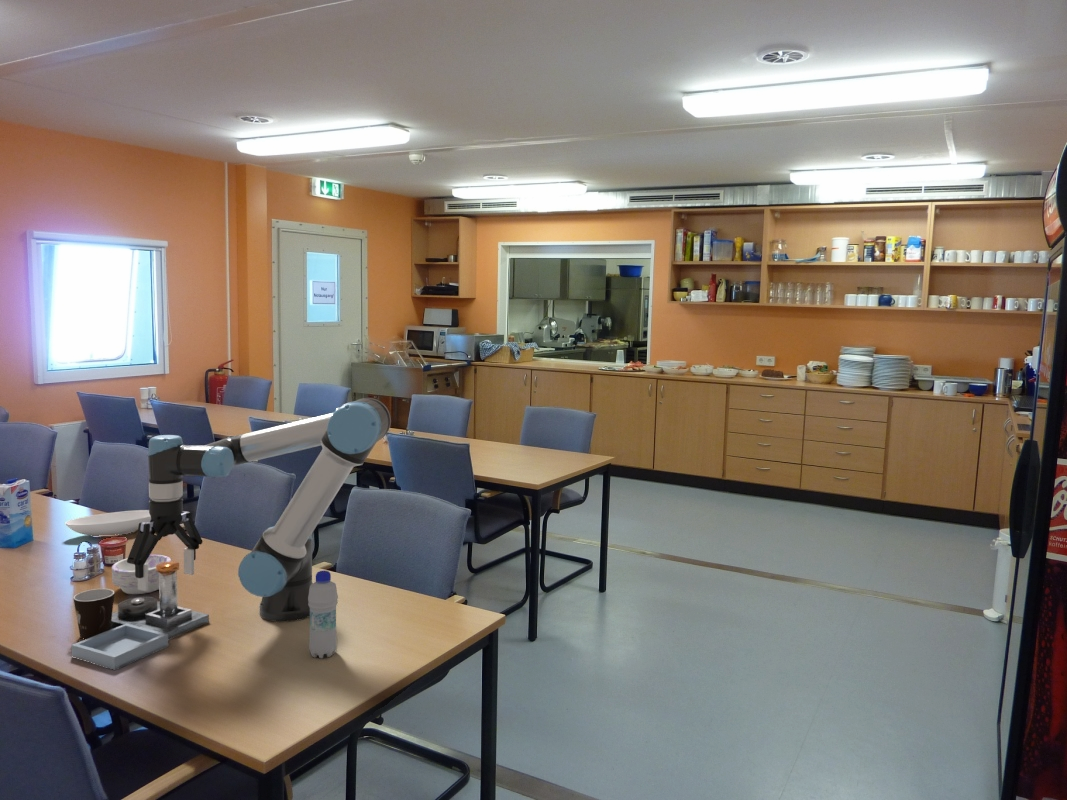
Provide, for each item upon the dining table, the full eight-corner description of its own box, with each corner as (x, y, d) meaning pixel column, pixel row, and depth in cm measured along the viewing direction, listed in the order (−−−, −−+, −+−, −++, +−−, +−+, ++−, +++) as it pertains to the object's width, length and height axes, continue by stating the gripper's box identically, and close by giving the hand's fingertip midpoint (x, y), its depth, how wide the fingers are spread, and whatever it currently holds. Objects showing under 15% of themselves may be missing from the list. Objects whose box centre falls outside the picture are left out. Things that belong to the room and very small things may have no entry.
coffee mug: (78, 629, 188) (77, 590, 187) (118, 625, 191) (116, 587, 190) (68, 648, 177) (67, 607, 176) (110, 644, 180) (109, 603, 179)
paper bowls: (99, 595, 211) (98, 567, 210) (139, 577, 226) (139, 551, 225) (146, 601, 208) (145, 573, 207) (184, 583, 222) (183, 556, 222)
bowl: (155, 523, 285) (154, 507, 285) (165, 532, 274) (165, 515, 273) (62, 535, 266) (61, 518, 266) (69, 546, 255) (68, 528, 254)
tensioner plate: (209, 622, 195) (208, 602, 194) (162, 642, 182) (162, 621, 181) (147, 607, 203) (147, 588, 203) (99, 625, 191) (99, 605, 190)
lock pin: (185, 617, 192) (183, 563, 190) (167, 625, 187) (166, 569, 186) (170, 614, 194) (168, 560, 192) (152, 621, 189) (151, 566, 188)
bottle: (326, 645, 182) (326, 564, 180) (343, 653, 178) (343, 571, 176) (302, 654, 177) (301, 571, 175) (319, 663, 173) (319, 578, 171)
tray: (168, 646, 180) (167, 634, 179) (114, 670, 167) (114, 657, 167) (126, 635, 185) (126, 623, 185) (71, 657, 173) (71, 644, 172)
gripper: (195, 487, 200) (196, 565, 202) (109, 506, 177) (110, 594, 180) (216, 490, 197) (217, 569, 199) (131, 510, 174) (133, 600, 177)
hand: (166, 581), depth 189 cm, fingers open, 13 cm apart
